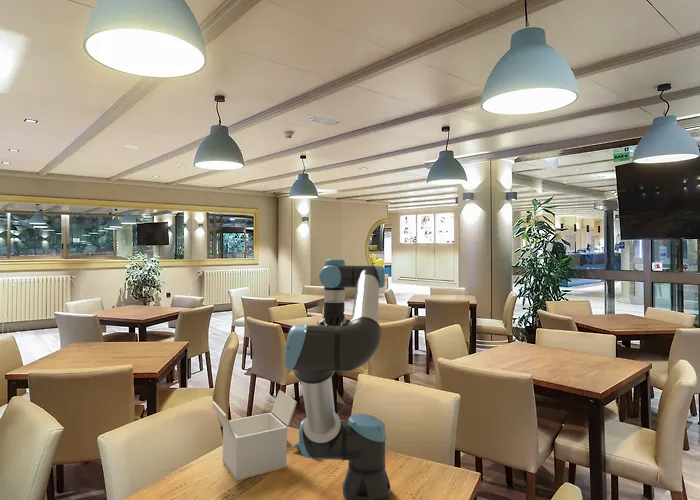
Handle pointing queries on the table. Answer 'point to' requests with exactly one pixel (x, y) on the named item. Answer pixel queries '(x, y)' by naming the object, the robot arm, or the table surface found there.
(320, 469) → the table surface
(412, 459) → the table surface
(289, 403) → the flap right
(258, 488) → the table surface
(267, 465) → the carton
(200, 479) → the table surface
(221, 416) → the flap left
